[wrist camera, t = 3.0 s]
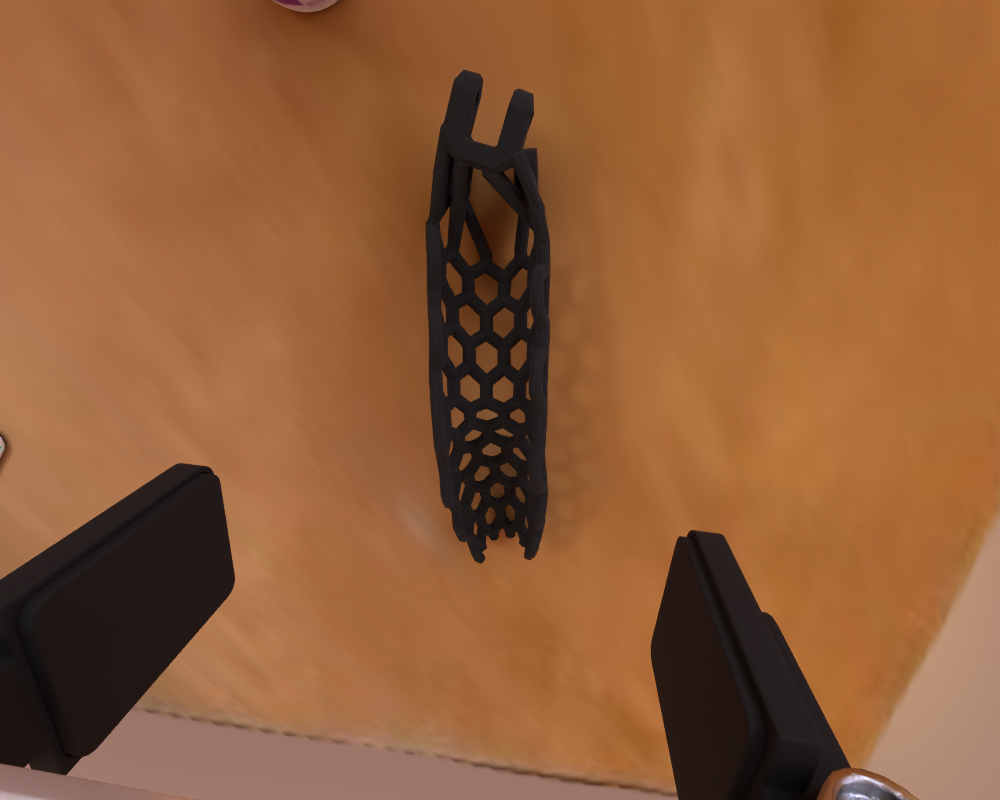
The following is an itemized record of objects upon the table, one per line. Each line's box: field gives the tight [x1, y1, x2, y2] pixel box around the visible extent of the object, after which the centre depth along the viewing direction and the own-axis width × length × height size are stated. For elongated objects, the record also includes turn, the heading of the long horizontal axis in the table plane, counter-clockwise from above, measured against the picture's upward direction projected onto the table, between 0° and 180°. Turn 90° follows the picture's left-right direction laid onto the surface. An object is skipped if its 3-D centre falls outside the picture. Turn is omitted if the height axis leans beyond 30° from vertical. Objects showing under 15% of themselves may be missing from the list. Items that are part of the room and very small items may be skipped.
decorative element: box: [426, 70, 550, 564], centre depth 22 cm, size 22×5×6 cm, turn 3°
